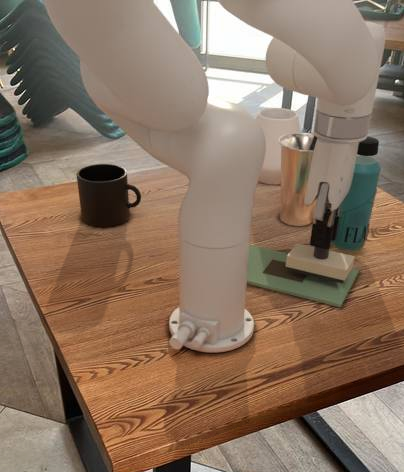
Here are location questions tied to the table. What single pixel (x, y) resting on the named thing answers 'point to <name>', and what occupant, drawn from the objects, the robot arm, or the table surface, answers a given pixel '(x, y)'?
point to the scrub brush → (320, 262)
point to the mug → (105, 195)
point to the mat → (293, 278)
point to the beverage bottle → (359, 199)
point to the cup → (275, 140)
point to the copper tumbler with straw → (296, 177)
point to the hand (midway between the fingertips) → (322, 241)
